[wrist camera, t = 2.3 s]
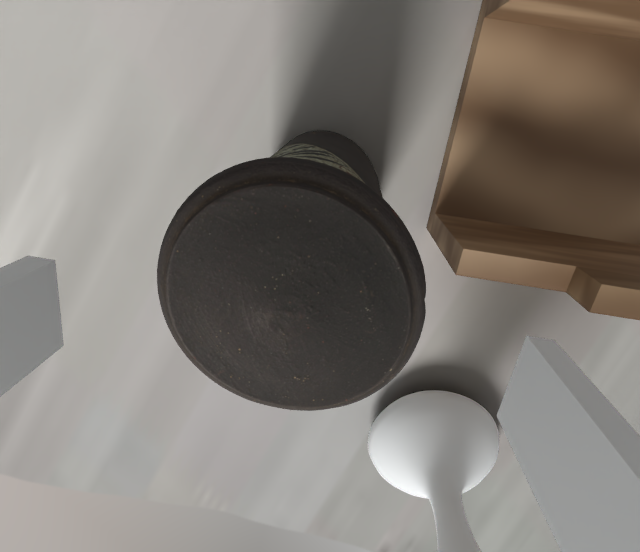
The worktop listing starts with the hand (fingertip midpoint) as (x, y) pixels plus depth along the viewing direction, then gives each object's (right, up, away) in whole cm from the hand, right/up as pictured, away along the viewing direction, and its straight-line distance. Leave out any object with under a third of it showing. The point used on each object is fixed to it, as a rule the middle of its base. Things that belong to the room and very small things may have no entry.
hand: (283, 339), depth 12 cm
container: (+1, +8, +19) cm, 21 cm away
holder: (+18, +11, +17) cm, 27 cm away
